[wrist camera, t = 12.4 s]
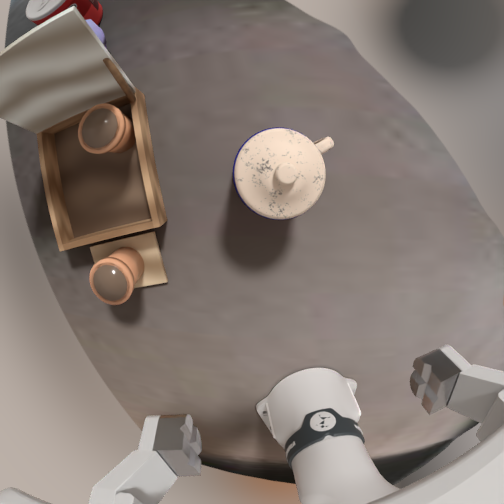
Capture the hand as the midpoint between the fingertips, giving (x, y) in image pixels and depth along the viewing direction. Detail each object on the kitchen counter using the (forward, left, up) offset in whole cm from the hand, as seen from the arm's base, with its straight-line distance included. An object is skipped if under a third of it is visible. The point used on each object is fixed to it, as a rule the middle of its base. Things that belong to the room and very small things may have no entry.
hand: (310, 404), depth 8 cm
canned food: (+37, +19, -29) cm, 51 cm away
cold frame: (+13, +17, -29) cm, 36 cm away
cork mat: (-2, +17, -29) cm, 34 cm away
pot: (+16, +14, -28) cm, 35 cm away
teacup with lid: (+7, -5, -29) cm, 31 cm away
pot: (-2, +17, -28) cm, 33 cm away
